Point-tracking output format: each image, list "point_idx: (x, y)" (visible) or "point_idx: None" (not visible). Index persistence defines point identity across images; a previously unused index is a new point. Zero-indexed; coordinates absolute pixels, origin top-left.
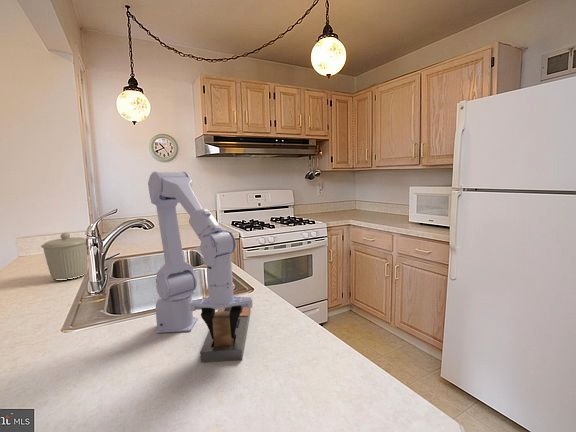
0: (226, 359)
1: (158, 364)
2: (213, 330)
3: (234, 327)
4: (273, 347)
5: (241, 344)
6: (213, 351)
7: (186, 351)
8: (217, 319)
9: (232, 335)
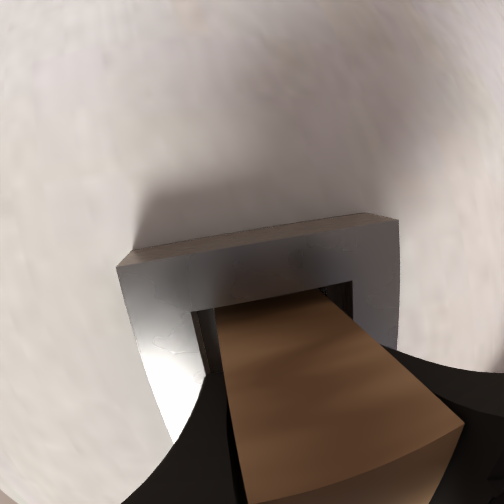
0: (225, 235)
1: (497, 201)
2: (391, 356)
3: (192, 427)
4: (26, 367)
5: (142, 333)
6: (320, 233)
7: (441, 302)
8: (410, 443)
9: (216, 381)
